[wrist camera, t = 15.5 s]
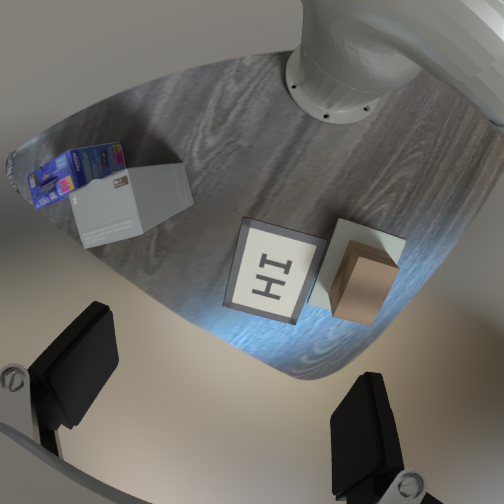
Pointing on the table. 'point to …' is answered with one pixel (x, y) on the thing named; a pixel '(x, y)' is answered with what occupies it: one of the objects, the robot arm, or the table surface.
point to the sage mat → (337, 249)
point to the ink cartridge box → (74, 171)
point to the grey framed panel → (272, 271)
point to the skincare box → (129, 202)
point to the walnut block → (362, 283)
